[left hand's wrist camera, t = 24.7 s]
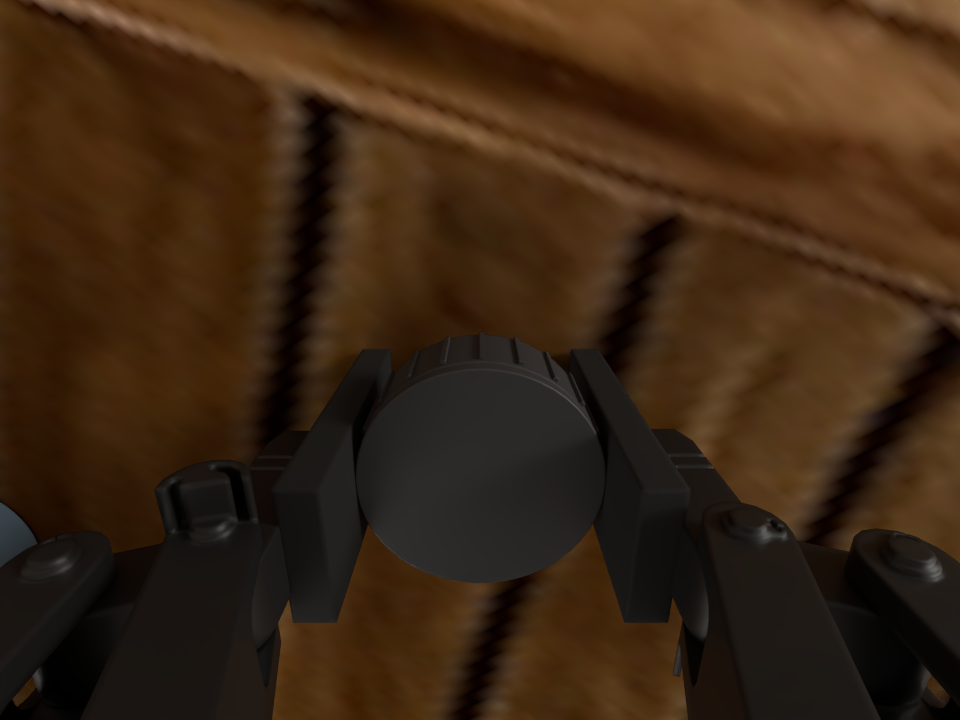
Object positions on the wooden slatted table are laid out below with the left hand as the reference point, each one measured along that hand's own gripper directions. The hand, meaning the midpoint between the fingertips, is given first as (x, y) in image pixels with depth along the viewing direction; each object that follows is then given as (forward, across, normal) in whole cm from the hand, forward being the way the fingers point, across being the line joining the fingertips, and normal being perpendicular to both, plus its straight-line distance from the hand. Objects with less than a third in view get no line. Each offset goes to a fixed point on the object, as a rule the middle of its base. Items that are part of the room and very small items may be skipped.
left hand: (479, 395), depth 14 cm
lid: (-4, 0, 0) cm, 4 cm away
